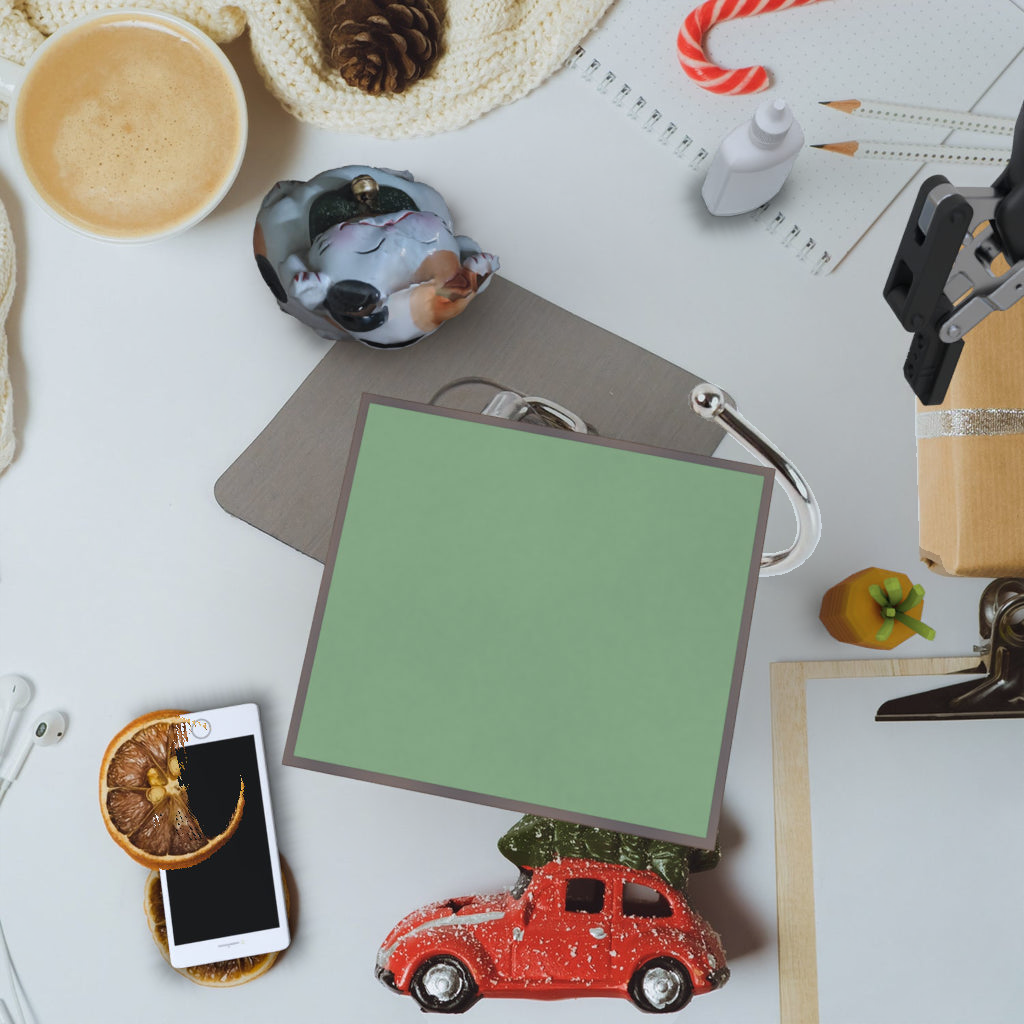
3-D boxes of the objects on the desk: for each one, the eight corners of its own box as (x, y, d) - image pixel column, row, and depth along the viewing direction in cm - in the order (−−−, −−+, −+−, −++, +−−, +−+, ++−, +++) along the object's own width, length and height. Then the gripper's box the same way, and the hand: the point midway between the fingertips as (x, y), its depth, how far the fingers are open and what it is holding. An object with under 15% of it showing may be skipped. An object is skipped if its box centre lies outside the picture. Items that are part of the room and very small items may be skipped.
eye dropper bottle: (775, 225, 75) (821, 143, 63) (697, 215, 75) (729, 131, 63) (781, 168, 76) (829, 77, 64) (704, 158, 76) (737, 65, 64)
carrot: (875, 645, 71) (967, 642, 56) (803, 657, 71) (876, 657, 56) (859, 573, 71) (947, 551, 56) (788, 585, 71) (857, 566, 56)
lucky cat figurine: (453, 166, 76) (513, 149, 63) (461, 332, 79) (520, 349, 66) (242, 170, 71) (260, 153, 59) (259, 346, 74) (281, 367, 62)
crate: (679, 542, 72) (776, 468, 44) (639, 775, 70) (715, 851, 42) (424, 494, 73) (362, 391, 45) (377, 723, 70) (280, 764, 43)
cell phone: (258, 701, 71) (256, 701, 70) (292, 946, 68) (289, 949, 68) (145, 721, 70) (141, 721, 70) (174, 967, 68) (171, 970, 68)
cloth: (762, 477, 44) (765, 476, 44) (704, 836, 42) (706, 838, 42) (371, 404, 45) (369, 402, 44) (295, 754, 43) (293, 755, 42)
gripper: (1022, 79, 34) (894, 452, 45) (1424, 62, 35) (1201, 431, 47) (932, 0, 39) (838, 352, 51) (1283, -12, 41) (1114, 334, 52)
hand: (1012, 389), depth 49 cm, fingers open, 8 cm apart
